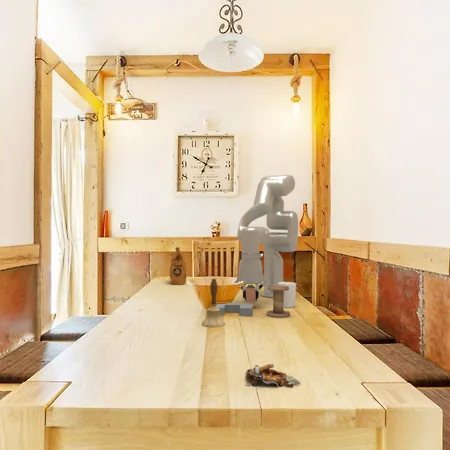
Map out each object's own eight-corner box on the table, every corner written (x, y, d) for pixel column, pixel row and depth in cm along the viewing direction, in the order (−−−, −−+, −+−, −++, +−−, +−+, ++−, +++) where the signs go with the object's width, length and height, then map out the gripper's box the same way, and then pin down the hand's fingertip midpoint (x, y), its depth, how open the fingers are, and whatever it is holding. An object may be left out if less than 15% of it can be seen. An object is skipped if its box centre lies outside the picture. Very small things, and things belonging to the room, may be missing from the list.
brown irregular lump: (301, 390, 81) (301, 373, 81) (244, 388, 82) (244, 371, 82) (297, 377, 88) (297, 362, 88) (245, 376, 89) (245, 360, 89)
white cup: (295, 304, 170) (295, 282, 170) (296, 308, 162) (296, 284, 162) (277, 304, 171) (277, 281, 171) (277, 308, 163) (278, 284, 163)
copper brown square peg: (246, 300, 166) (246, 284, 165) (255, 300, 165) (255, 284, 165) (246, 302, 162) (245, 286, 161) (255, 302, 161) (255, 286, 161)
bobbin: (266, 312, 155) (266, 284, 155) (288, 312, 154) (288, 285, 154) (267, 317, 146) (267, 288, 146) (291, 317, 145) (291, 288, 145)
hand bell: (230, 324, 136) (230, 278, 136) (213, 328, 129) (213, 281, 130) (213, 320, 141) (213, 276, 141) (196, 324, 135) (197, 278, 135)
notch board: (252, 310, 157) (252, 303, 158) (252, 316, 148) (252, 308, 148) (213, 309, 158) (213, 302, 158) (211, 315, 148) (211, 307, 148)
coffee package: (168, 285, 225) (168, 247, 226) (170, 282, 238) (170, 246, 238) (185, 285, 226) (185, 247, 226) (186, 282, 238) (186, 246, 239)
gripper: (269, 255, 166) (270, 298, 167) (231, 256, 167) (231, 297, 168) (270, 257, 159) (271, 302, 159) (230, 258, 160) (230, 301, 160)
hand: (250, 299), depth 163 cm, fingers closed on copper brown square peg, 4 cm apart
